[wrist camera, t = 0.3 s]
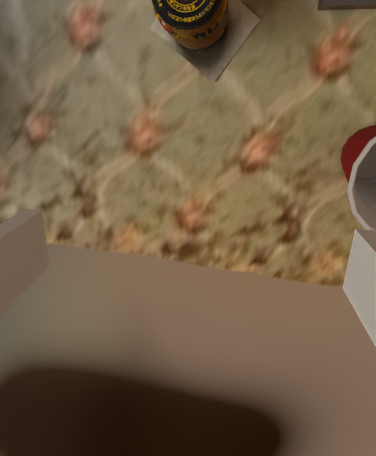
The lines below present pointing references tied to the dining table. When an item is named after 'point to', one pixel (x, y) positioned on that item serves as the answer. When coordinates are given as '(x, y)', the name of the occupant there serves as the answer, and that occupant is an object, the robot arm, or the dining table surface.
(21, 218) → the robot arm
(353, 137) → the plastic cup
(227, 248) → the dining table surface
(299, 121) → the dining table surface
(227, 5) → the condiment
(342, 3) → the levelling plate
